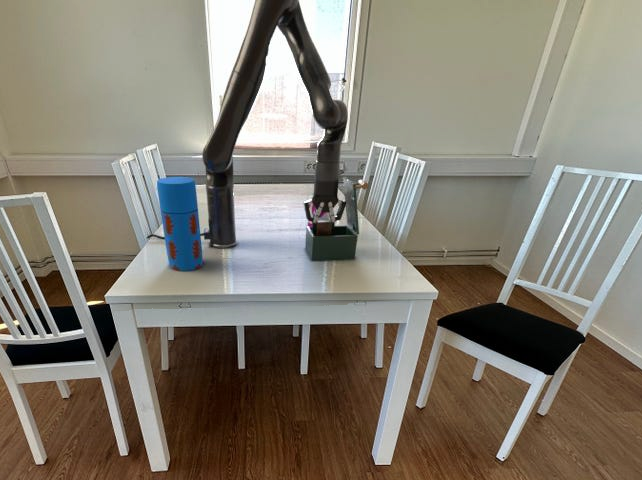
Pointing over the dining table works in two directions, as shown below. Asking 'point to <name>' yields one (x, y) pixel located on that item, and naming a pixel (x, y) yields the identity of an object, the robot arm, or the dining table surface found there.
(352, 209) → the tin lid
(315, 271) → the dining table surface
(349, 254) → the tea tin
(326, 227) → the walnut block
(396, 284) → the dining table surface
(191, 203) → the thermos
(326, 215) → the supplement can
